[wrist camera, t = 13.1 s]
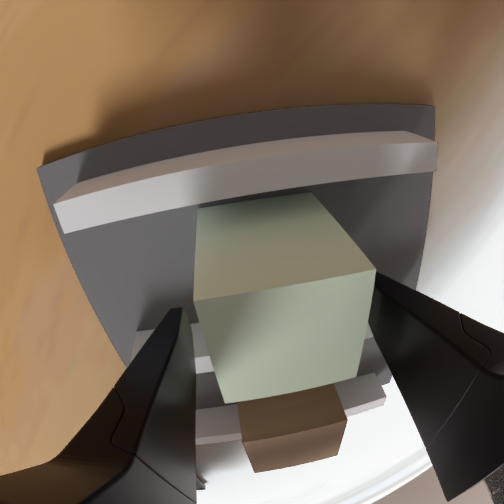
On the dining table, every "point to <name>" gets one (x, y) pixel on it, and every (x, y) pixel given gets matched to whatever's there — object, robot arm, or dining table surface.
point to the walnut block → (292, 427)
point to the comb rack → (231, 191)
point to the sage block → (279, 296)
